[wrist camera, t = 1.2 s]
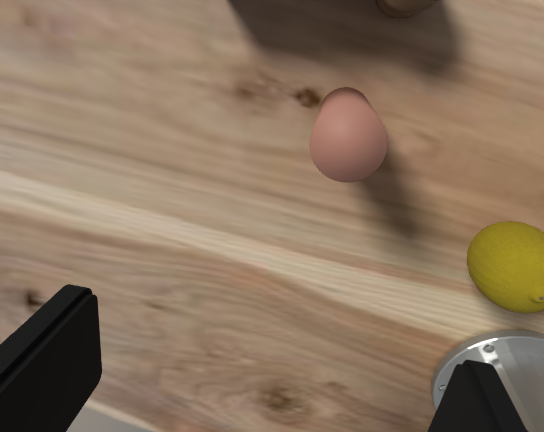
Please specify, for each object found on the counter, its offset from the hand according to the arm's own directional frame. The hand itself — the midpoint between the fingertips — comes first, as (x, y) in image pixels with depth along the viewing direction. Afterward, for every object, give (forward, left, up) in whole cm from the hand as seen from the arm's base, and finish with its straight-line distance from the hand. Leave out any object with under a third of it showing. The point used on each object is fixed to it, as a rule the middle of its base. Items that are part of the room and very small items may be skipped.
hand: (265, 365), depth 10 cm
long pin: (-2, -4, -22) cm, 22 cm away
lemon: (-14, +5, -22) cm, 27 cm away
